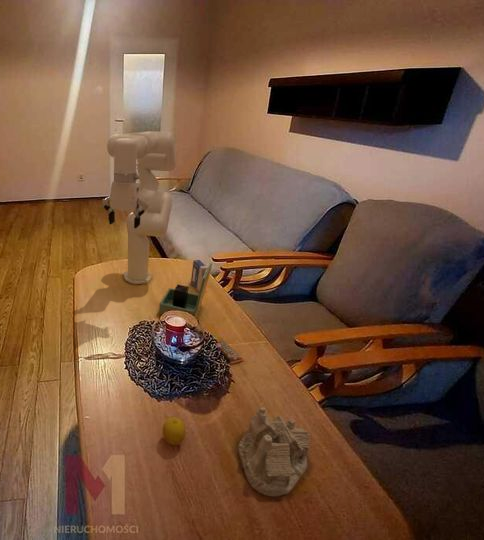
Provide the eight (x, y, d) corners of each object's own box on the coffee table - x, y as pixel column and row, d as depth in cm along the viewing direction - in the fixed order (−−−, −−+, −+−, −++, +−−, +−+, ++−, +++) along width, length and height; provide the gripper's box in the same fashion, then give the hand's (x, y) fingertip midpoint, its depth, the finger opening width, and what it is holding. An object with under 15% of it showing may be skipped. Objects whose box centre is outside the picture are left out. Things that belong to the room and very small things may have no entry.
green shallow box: (158, 316, 135) (159, 303, 132) (168, 299, 145) (169, 288, 142) (193, 325, 130) (195, 312, 127) (201, 307, 139) (202, 295, 137)
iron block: (175, 305, 140) (177, 284, 135) (186, 308, 138) (188, 286, 133) (171, 311, 136) (174, 289, 132) (183, 314, 134) (185, 292, 130)
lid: (202, 277, 120) (205, 278, 119) (209, 262, 129) (212, 263, 129) (194, 310, 127) (196, 311, 126) (201, 294, 137) (204, 294, 136)
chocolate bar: (210, 343, 120) (210, 342, 120) (222, 340, 122) (222, 338, 121) (231, 364, 111) (231, 363, 111) (243, 361, 112) (244, 359, 112)
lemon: (159, 433, 90) (161, 411, 86) (180, 431, 91) (183, 409, 87) (164, 452, 85) (167, 431, 82) (186, 450, 86) (190, 429, 82)
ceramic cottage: (244, 490, 77) (262, 445, 70) (233, 429, 91) (247, 386, 84) (320, 508, 74) (347, 463, 67) (297, 441, 89) (317, 399, 82)
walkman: (190, 283, 156) (193, 259, 151) (196, 282, 157) (199, 258, 151) (198, 292, 150) (201, 267, 144) (204, 291, 150) (208, 267, 144)
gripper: (153, 177, 117) (150, 225, 125) (106, 173, 124) (107, 218, 132) (145, 182, 111) (142, 232, 119) (97, 177, 119) (98, 224, 127)
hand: (124, 225), depth 126 cm, fingers open, 9 cm apart
